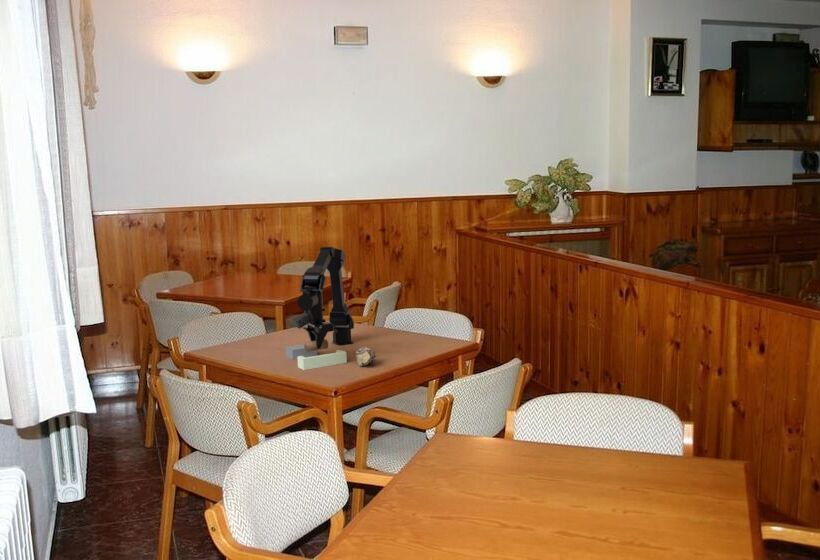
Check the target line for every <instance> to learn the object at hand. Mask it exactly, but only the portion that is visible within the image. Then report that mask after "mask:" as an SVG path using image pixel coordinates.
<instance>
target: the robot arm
mask: <svg viewBox="0 0 820 560" xmlns="http://www.w3.org/2000/svg"><path fill="white" fill-rule="evenodd" d="M345 262H346V252H344V250H342V249H341V248H335V246H334V247H333V246H322V247H320V248H319V253H318V255H317V256H316V259H315V261H314V262H313V265H312V266H311V267H309V268H307V269H306V270H305V271H304V272H303V275H302V278H301V283H300V286H299V287H300V289H299V291H300V292H302V294H301V295H299V297H298V299H297V302H296V303H297V306H298V308H299V309H300V310H302V311H304V312H303V313H301V314H298V315H297V316H295V317H293V318H292V319H291V321H292V322H293V326H294V328H297V329H303V330H304V331H305V332H307V334H308V336H309V339H310V341H316V345H317V348H318V349H319V348H321V345H322V343H323V341H324V339H325V338H326V337H327V334H328V333H330V332H332V342H331V344H332V343H333V344H335V345H338V346H344V345H349V344H353V343H354V341H352V330H354V329H355V322H354V319H353V317H352V314H351V311H350V308H349V306H347V304H346V303H345V293H344V285H343V274H342V269H343V266H345ZM326 270H327V271H328V273H329V278H330V279H329V280H330V288H331V290H330V291H331V297H332V308H331V309H330V312H329V316H328V320H329V322H328V321H326V319H325V318H324V312H325V311H326V308H325V307H324V306H323V291H324V288H325V285H326V281H327V278H326V275H325V272H326Z"/></svg>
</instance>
